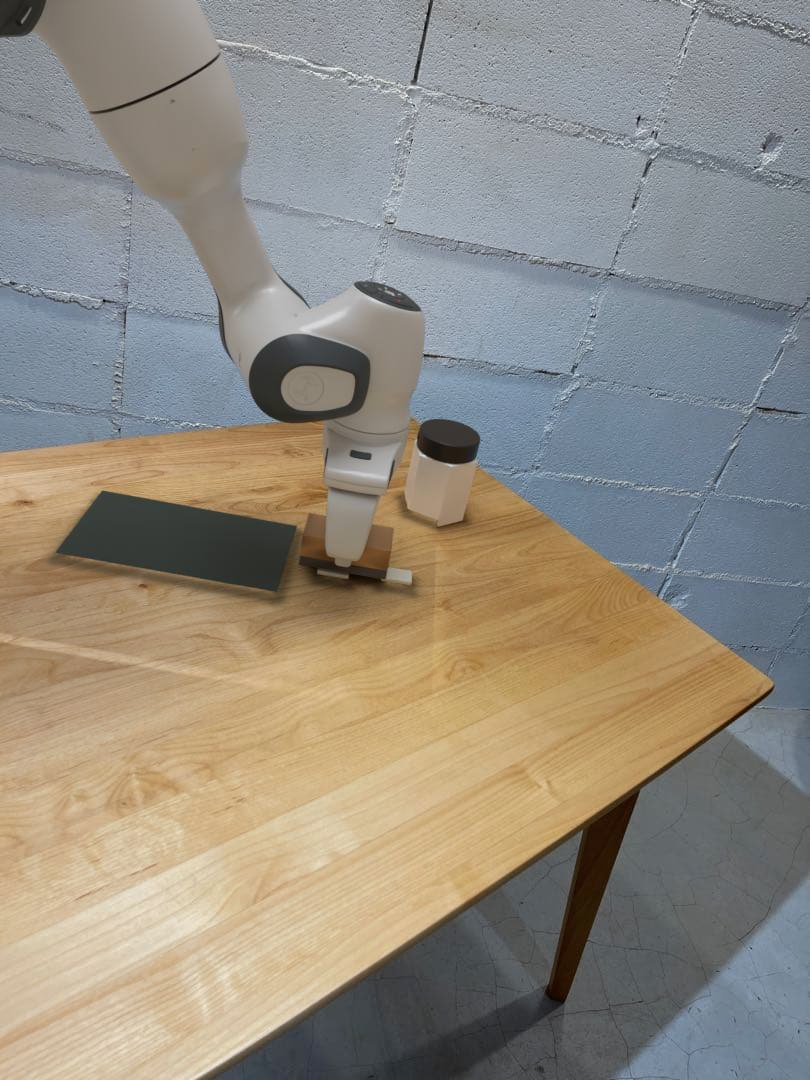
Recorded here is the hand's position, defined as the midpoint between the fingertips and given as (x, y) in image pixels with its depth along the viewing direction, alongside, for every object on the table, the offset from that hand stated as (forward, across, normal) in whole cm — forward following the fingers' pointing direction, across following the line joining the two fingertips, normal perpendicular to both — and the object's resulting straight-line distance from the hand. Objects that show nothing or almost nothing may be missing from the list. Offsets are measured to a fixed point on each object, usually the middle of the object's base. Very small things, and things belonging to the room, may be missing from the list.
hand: (345, 547), depth 94 cm
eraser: (+2, 0, 0) cm, 2 cm away
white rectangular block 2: (+2, 0, +6) cm, 7 cm away
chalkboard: (+4, 0, -18) cm, 19 cm away
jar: (+4, -19, +10) cm, 22 cm away
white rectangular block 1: (+4, +1, -1) cm, 4 cm away
